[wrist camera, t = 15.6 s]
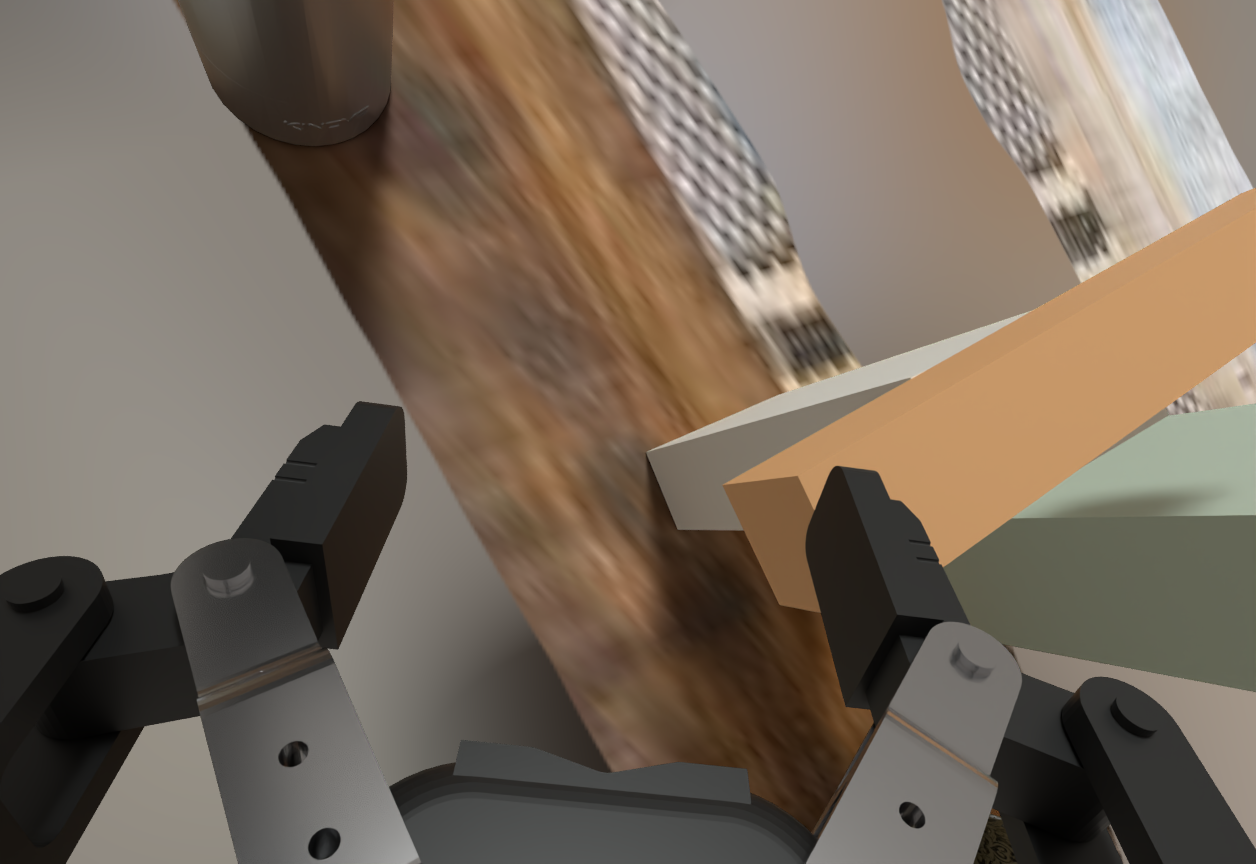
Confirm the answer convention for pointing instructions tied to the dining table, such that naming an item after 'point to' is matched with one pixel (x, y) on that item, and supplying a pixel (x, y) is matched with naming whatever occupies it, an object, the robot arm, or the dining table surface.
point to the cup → (995, 844)
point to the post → (787, 431)
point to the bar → (1022, 399)
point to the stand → (1134, 557)
